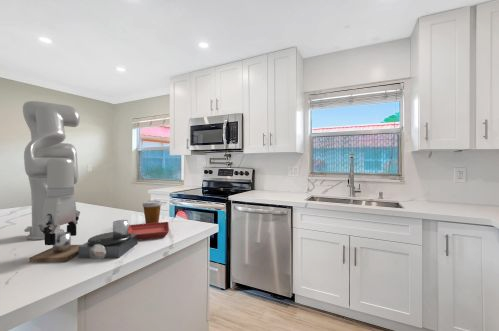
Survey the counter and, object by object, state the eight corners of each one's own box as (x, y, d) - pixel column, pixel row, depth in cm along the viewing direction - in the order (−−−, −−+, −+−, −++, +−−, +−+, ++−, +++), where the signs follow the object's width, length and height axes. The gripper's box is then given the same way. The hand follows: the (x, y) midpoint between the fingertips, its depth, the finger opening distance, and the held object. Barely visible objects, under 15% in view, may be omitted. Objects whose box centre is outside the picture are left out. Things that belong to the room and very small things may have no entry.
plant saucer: (129, 231, 113) (129, 224, 113) (168, 227, 120) (168, 221, 119) (123, 243, 96) (123, 235, 96) (169, 238, 103) (169, 231, 103)
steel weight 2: (110, 239, 85) (109, 223, 85) (117, 235, 90) (117, 219, 90) (123, 239, 85) (123, 223, 85) (130, 235, 90) (130, 219, 90)
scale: (76, 261, 80) (76, 244, 80) (103, 245, 95) (102, 231, 95) (117, 261, 80) (117, 244, 80) (137, 245, 95) (137, 231, 95)
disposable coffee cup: (157, 226, 120) (157, 203, 120) (139, 226, 120) (138, 203, 120) (164, 221, 129) (164, 200, 129) (147, 221, 130) (147, 200, 129)
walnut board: (29, 262, 77) (29, 257, 77) (58, 248, 89) (58, 244, 89) (65, 262, 78) (65, 257, 78) (89, 248, 90) (89, 244, 90)
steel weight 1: (49, 253, 81) (48, 236, 81) (60, 248, 86) (60, 231, 86) (63, 253, 81) (63, 236, 81) (74, 247, 86) (73, 231, 86)
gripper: (68, 189, 92) (69, 232, 92) (27, 196, 74) (28, 249, 75) (87, 189, 92) (88, 232, 92) (51, 196, 75) (52, 249, 75)
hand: (61, 239), depth 84 cm, fingers open, 9 cm apart
